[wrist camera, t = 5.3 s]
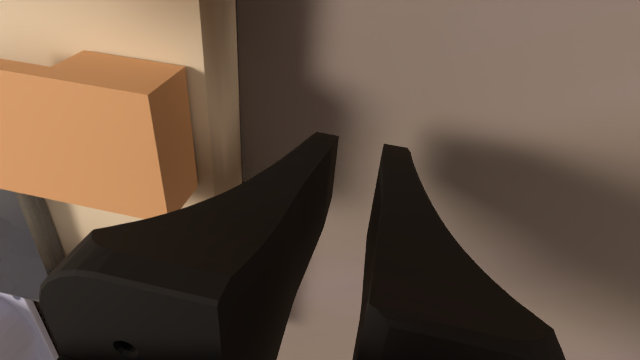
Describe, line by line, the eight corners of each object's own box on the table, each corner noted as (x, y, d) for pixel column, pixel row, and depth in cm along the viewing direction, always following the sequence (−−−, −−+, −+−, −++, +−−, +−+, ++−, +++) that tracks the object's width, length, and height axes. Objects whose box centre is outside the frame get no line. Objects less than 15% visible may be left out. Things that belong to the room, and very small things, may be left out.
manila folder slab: (198, 186, 14) (169, 224, 13) (44, 156, 15) (-1, 188, 13) (184, 66, 12) (147, 94, 10) (4, 37, 13) (-57, 59, 11)
